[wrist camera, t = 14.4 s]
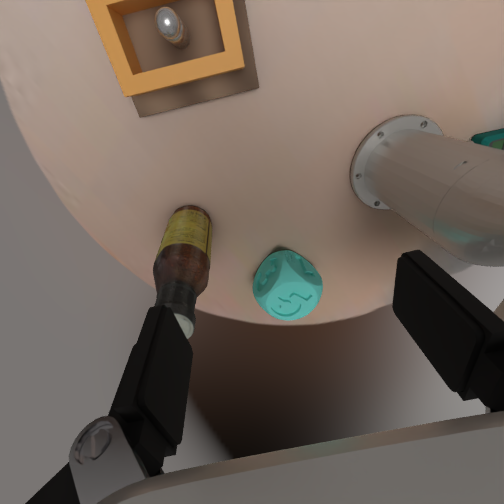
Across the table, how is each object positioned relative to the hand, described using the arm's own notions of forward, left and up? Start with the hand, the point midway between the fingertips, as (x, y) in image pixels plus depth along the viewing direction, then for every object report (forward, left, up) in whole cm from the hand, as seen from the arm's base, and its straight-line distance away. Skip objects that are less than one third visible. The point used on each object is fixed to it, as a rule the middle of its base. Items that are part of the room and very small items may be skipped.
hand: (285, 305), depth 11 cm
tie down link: (+4, -13, -27) cm, 30 cm away
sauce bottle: (+10, +8, -28) cm, 31 cm away
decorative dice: (-2, +20, -29) cm, 35 cm away
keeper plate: (+4, -13, -28) cm, 31 cm away
